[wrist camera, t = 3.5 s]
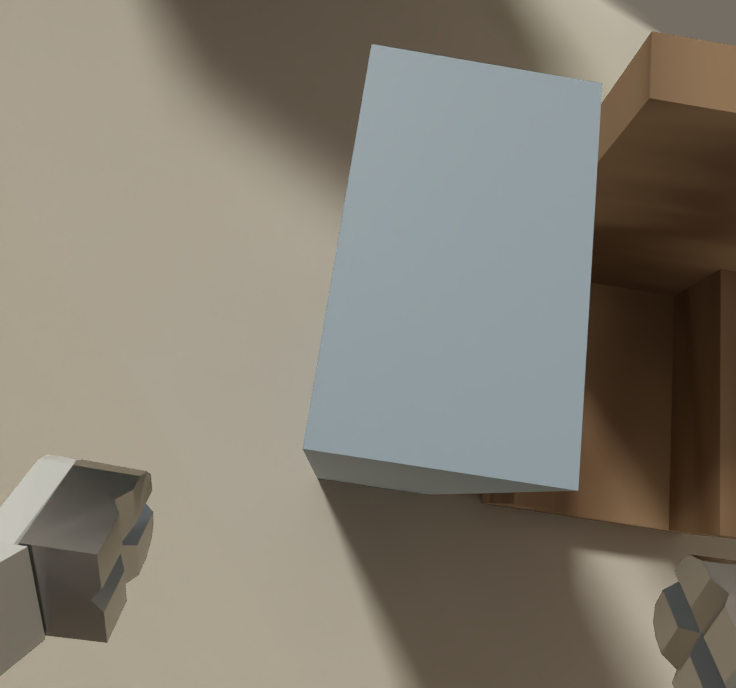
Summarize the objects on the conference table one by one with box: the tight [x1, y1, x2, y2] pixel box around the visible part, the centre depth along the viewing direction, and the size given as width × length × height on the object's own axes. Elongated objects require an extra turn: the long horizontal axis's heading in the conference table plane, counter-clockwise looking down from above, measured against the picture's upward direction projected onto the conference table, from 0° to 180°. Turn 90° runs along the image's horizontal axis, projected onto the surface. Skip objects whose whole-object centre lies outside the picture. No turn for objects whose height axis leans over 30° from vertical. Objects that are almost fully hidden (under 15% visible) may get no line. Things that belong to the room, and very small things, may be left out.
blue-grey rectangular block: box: [303, 44, 602, 495], centre depth 14 cm, size 4×6×12 cm, turn 172°
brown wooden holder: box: [481, 32, 736, 539], centre depth 16 cm, size 6×9×10 cm
